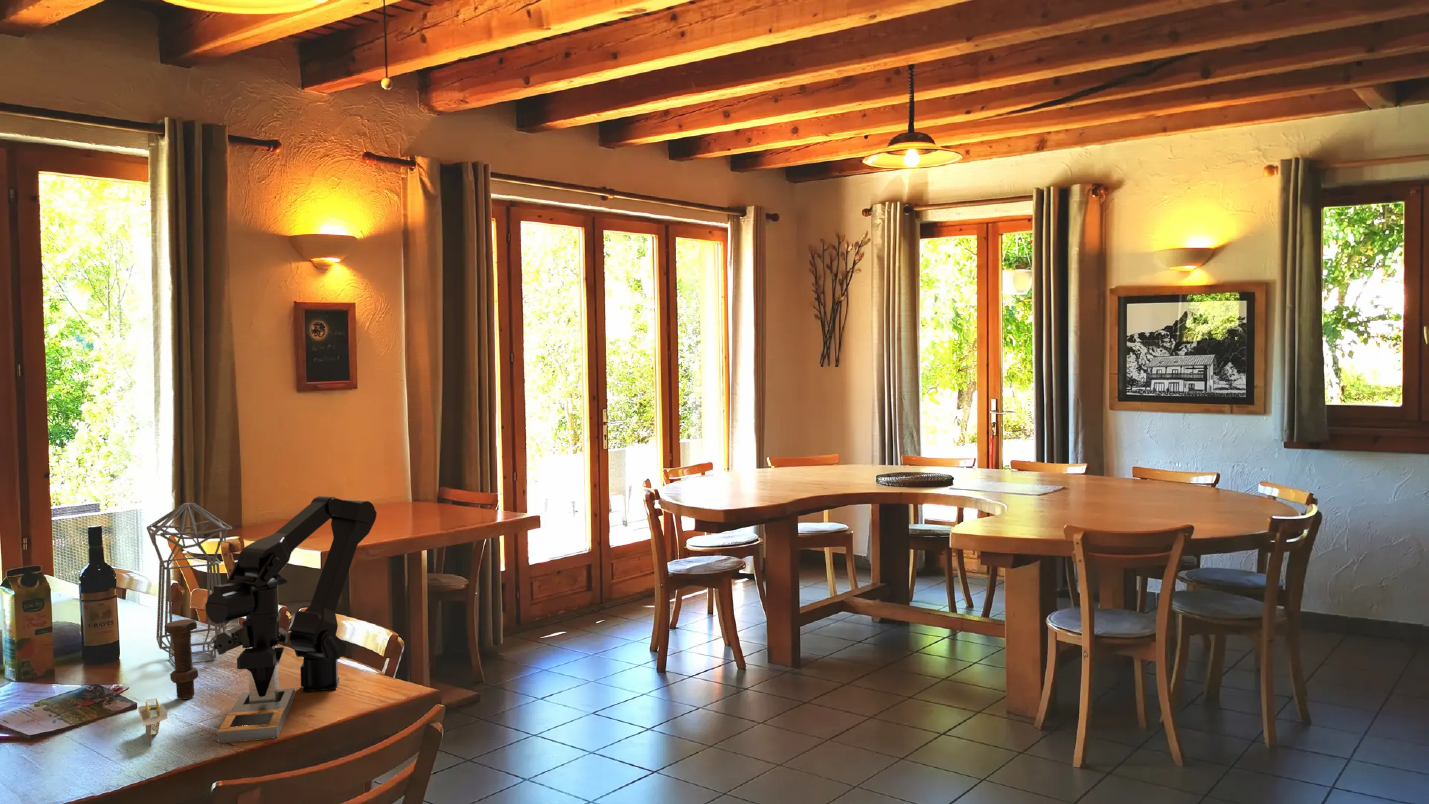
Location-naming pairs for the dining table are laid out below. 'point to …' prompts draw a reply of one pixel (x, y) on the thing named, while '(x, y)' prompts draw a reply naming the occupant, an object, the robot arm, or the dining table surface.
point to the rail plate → (255, 718)
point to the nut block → (272, 690)
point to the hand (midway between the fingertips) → (264, 692)
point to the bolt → (183, 657)
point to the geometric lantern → (158, 528)
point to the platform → (151, 721)
